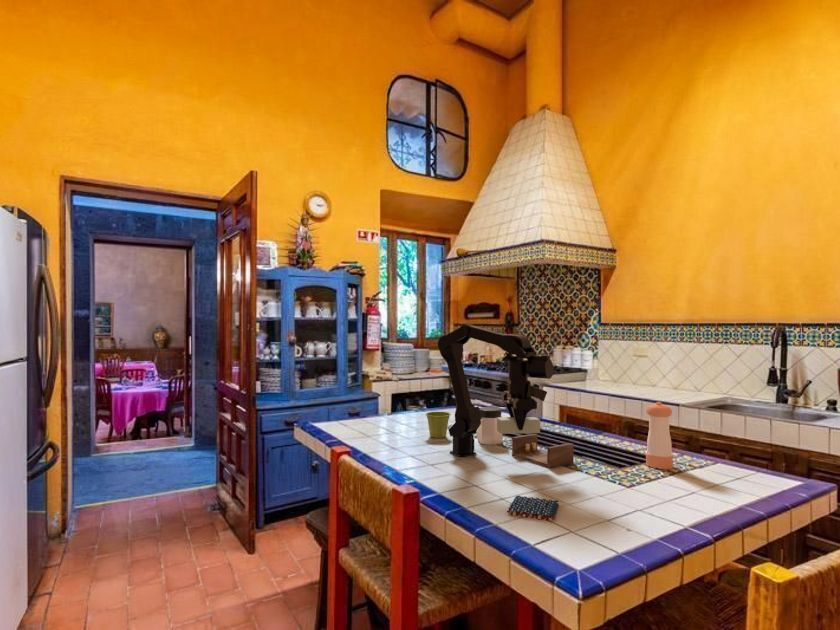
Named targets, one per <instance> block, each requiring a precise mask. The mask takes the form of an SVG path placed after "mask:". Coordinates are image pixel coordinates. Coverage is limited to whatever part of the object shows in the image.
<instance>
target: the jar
mask: <svg viewBox="0 0 840 630" xmlns="http://www.w3.org/2000/svg"><path fill="white" fill-rule="evenodd" d="M479 409H480V415H481V417H482V419H481V425H480V426H479V428H478V429H477V442H478V443H480V444H481V445H487V444H488V445H489V446H496V445H500V444H502V443H503V434H500V433H499V432H498V431H497V417H502V409H501V408H500V407H493V406H481V407H479Z"/></svg>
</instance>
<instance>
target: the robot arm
mask: <svg viewBox="0 0 840 630" xmlns="http://www.w3.org/2000/svg"><path fill="white" fill-rule="evenodd" d="M471 339H472V340H473V339H474V340H477V341H481V342H484V343H486V344H487V343H488V344H491V345H494V346H497V347H499V349H501V350H502V351H504V352H506V353H507V354H506V355H505V356H504V357H503V358H501V361H502V362H508V378H507V379H506V383H507V384H508V390H504V391H502V393H501V394H500V400H501V401H503V404H504V405H505V408H506V410H507V412H508V415H509V417H514V418H515V421H516V424H517V427H518V429H519V430H522V429H523V426H524V422H525V419H526V417H527V416H528V413H530V411H532V410H537V409H538V402H537V401H536V399H537V400H539V401H542V402H545V399H546V397H547V394H548V391H546V390H544V389H541V388H540V385H539V384H537V383H534V382H533V383H532V384H531V381H530V380H528V379H529V377H530V378H532V379H535V378H536V379H547V380H550V379H552V378H553V375H554V368H555V367H554V365H553V364H554V363H553V362H552V360H551V355H548V354H545V355H539V354H538V353H537V352H536V351H535V349H534V348H533V346H532V345H531V341H530V339H529V337H528V336H526V335H524V334H512V333H511V334H509V333H508V334H507V333H501V332H499V331H494V330H491V329H486V328H484V327H479V326H476V325H474V324H472V323H471V324H468V323H467V324H466V323H465V324H462V325H461V326H460V327H458V328H457V329H456V328H455V330H452V331H451V332H449V333H448V334H445V335H441V336H440V338H439V339H438V340H437V348H438V350H439V353H440V355H441V357H442V359H443V360H444V361H445V363H446V365H447V368H448V372H449V378H450V382H451V386H452V391H453V395H454V399H455V404H456V405H455V406H456V407H455V412H454V421H455V423H454V424H452V425H451V427H450V428H449V429H448V433H449V436H450V437H452V450H450V451H449V453H450V454H452V455H455V456H458V457H460V458H462V457H463V458H464V457H468V456H469V457H470V456H475V455H477V452H475V438H474V435H475V434H477V433H478V428H479V426H480V425H481V419H482V417H481V415H480V409H479V408H480V407H479V405H478V406H474V403H472V400H471V395H470V392H469V388H468V382H467V377H466V375H465V374H466V373H465V370H464V366H463V365H464V364H463V360H462V359H463V354H464V345H465V344H467V343H468V342H469V340H471ZM528 376H529V377H528ZM534 398H535V399H534ZM505 401H506V402H505Z"/></svg>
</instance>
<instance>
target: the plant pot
mask: <svg viewBox="0 0 840 630" xmlns="http://www.w3.org/2000/svg"><path fill="white" fill-rule="evenodd" d="M425 416H426V419H427V425H428V431H429V437H430V436H431V437H430V438H433V437H435V438H434V439H443V438H446V437H447V433H448V424H449V420H450V417H451V412H447V411H430V412H425ZM442 437H443V438H442Z"/></svg>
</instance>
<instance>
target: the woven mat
mask: <svg viewBox="0 0 840 630" xmlns="http://www.w3.org/2000/svg"><path fill="white" fill-rule="evenodd" d="M559 507H560V505H559V500H554V499H553V500H552V499H546V498H543V499H542V498H539V497H533V496H531V497H530V496H529V497H528V496H523V495H522V496H521V495H515V498H514V499H513V501H512V502H511V504H510V505H509V507H508V510H506V513H507V516H510V517H511V515H512V516H513V517H518V518H521V517H522V518H526V517H527V519H531V518H532V517H533V519H535V520H536V519H538V520H539V521H540V520H542V519H543V521H546V520H547V519H548V521H549V522H552V521H553V520H554V519H556V514H557V511H558V508H559Z"/></svg>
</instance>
